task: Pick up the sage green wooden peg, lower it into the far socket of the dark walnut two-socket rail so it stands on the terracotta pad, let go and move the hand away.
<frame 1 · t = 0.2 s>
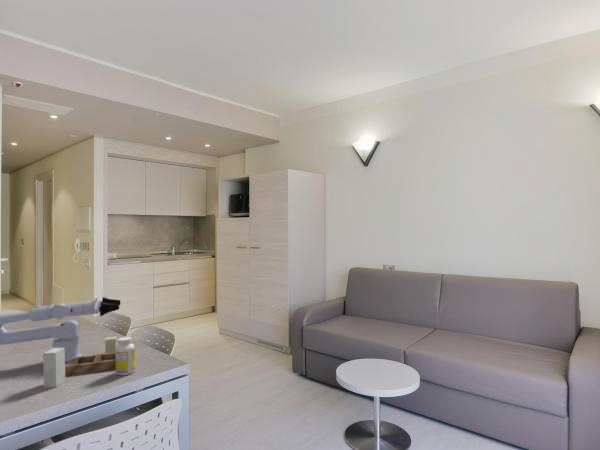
hand: (119, 304, 167), 21 cm above the table, tool horizontal, fingers open, 7 cm apart
walnut rail: (97, 366, 150), on the table
skincare box: (54, 385, 133), on the table
sage peg: (111, 357, 162), on the table
supplement bottle: (125, 373, 143), on the table
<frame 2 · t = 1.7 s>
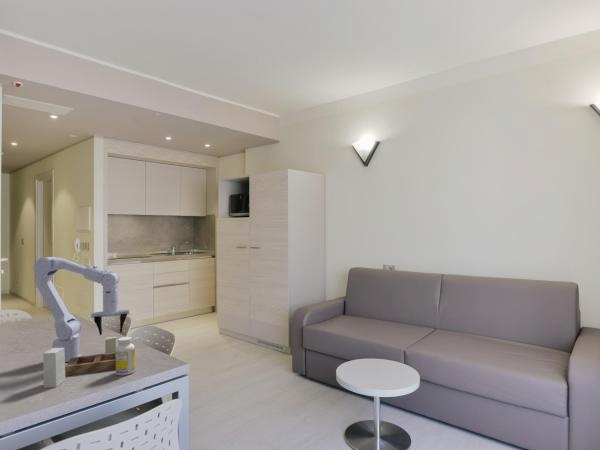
hand: (110, 333, 162), 10 cm above the table, tool pointing down, fingers open, 7 cm apart
nothing on the table moved.
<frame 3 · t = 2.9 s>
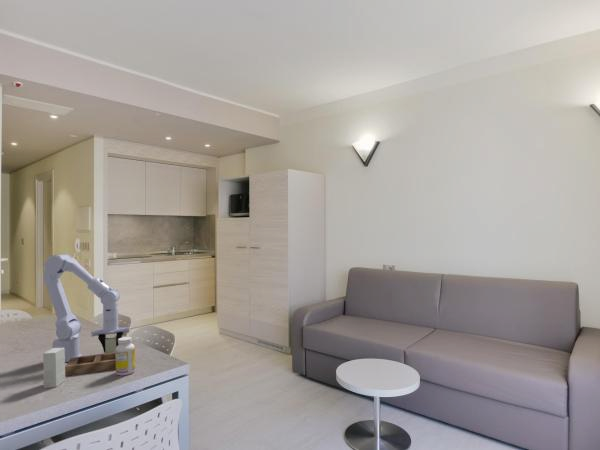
hand: (111, 351, 162), 2 cm above the table, tool pointing down, fingers closed on sage peg, 4 cm apart
sage peg: (111, 356, 162), on the table, touching gripper
everything else where it was.
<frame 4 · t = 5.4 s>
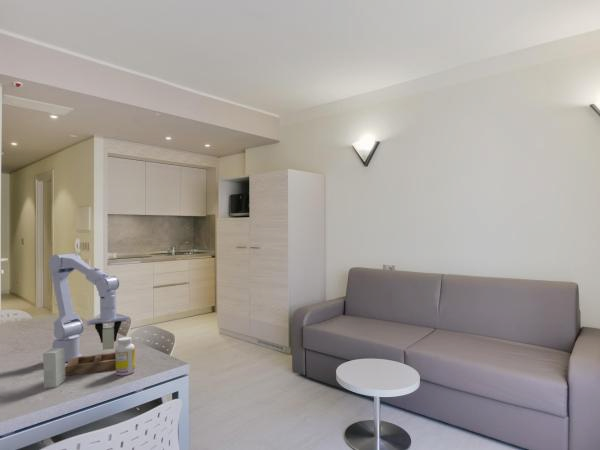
hand: (108, 341, 152), 9 cm above the table, tool pointing down, fingers closed on sage peg, 4 cm apart
sage peg: (108, 347, 152), point 7 cm above the table, touching gripper
everything else where it was.
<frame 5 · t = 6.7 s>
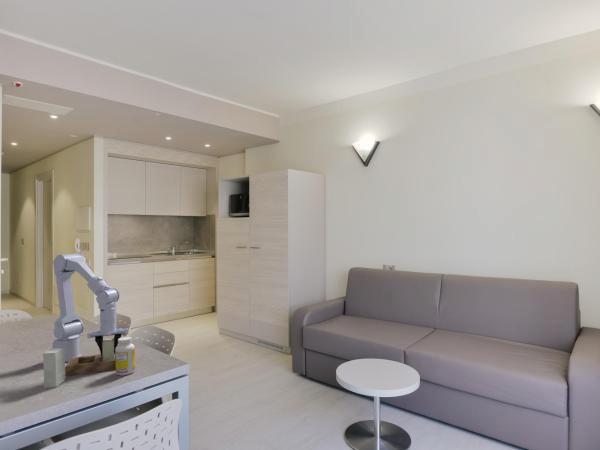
hand: (108, 354, 152), 5 cm above the table, tool pointing down, fingers closed on sage peg, 4 cm apart
sage peg: (108, 360, 152), point 2 cm above the table, touching gripper
everything else where it was.
when the fingers open (5 cm above the table, at t = 7.7 s): sage peg drops 1 cm, resting on walnut rail.
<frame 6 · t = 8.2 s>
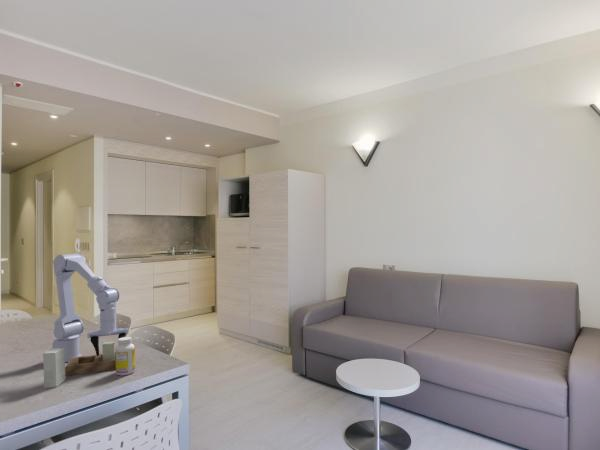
hand: (108, 353, 152), 5 cm above the table, tool pointing down, fingers open, 7 cm apart
sage peg: (108, 363, 152), point 1 cm above the table, touching walnut rail
everything else where it was.
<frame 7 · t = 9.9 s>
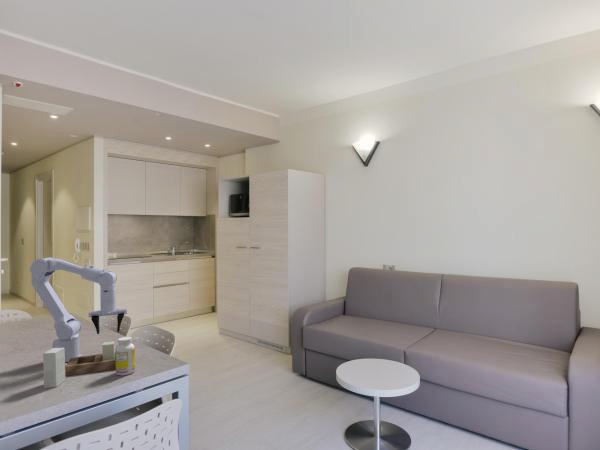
hand: (108, 332, 162), 10 cm above the table, tool pointing down, fingers open, 7 cm apart
nothing on the table moved.
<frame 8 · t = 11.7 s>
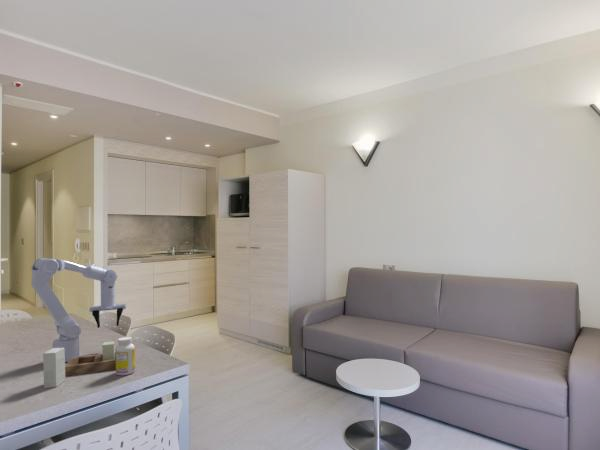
hand: (108, 326, 172), 10 cm above the table, tool pointing down, fingers open, 7 cm apart
nothing on the table moved.
at the end: sage peg 0.3 cm from the target spot on the walnut rail, point 0.7 cm above the walnut rail's base; sage peg tilted 0°; the gripper is holding nothing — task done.
